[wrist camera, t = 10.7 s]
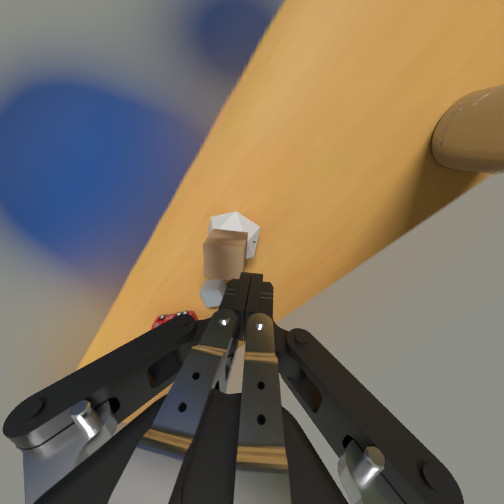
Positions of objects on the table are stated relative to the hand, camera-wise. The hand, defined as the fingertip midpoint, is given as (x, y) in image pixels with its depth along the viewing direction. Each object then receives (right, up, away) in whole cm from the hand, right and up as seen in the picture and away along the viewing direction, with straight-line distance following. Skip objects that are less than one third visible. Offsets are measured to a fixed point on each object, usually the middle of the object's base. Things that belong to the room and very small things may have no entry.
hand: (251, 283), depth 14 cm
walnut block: (-3, +3, +16) cm, 17 cm away
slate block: (-7, -5, +30) cm, 31 cm away
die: (-3, +6, +23) cm, 24 cm away
